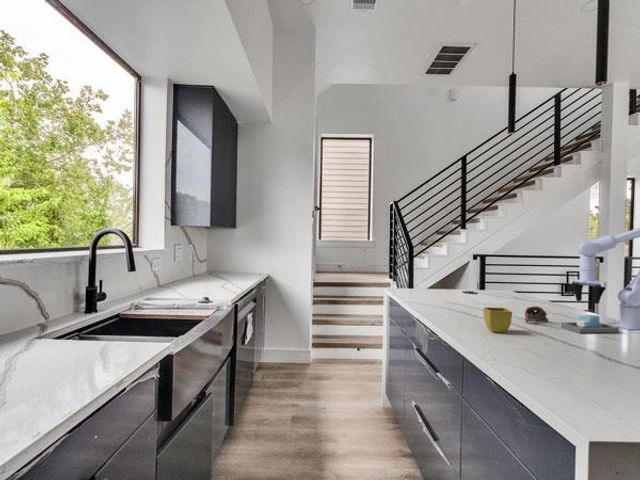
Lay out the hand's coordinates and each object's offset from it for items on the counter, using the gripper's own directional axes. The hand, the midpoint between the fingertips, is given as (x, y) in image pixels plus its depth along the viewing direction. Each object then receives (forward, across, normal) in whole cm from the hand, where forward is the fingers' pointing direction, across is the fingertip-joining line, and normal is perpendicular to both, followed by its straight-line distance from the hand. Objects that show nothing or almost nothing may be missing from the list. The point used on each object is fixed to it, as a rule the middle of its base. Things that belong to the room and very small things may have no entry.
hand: (587, 302), depth 173 cm
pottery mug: (+10, -13, -15) cm, 23 cm away
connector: (+9, +6, -9) cm, 14 cm away
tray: (+10, +6, -9) cm, 15 cm away
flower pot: (+10, -7, -44) cm, 46 cm away
